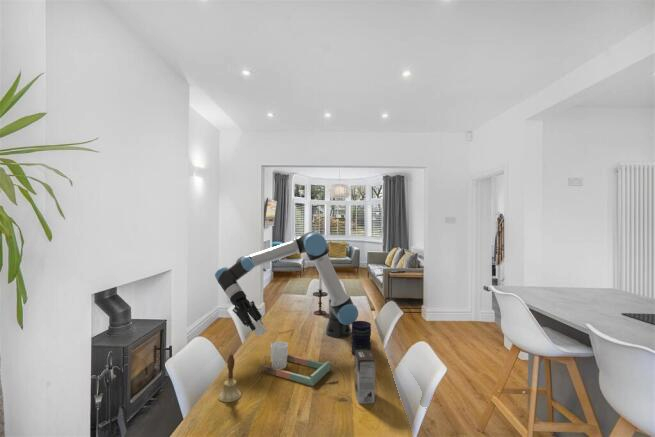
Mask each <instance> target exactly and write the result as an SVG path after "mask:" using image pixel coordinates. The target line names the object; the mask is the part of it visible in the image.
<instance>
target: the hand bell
mask: <svg viewBox="0 0 655 437" xmlns="http://www.w3.org/2000/svg"><path fill="white" fill-rule="evenodd" d="M226 366H227V370H228V375H227V376H228V378H227V380H226V381H224V384H223V389H222V391H221V393H219V395H218V400H219V401H220V402H222V403H232V402H233V403H234V402H236V401H238V400H239V399H240V398H241V396H242V392H241V391H240V390H239V388H238V386H237V380H236V379H233V378H234V376H233V375H234V373H233V372H234V368H235V357H234V354H233V353H229V355H228V359H227V364H226Z"/></svg>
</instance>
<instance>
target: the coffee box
mask: <svg viewBox="0 0 655 437" xmlns="http://www.w3.org/2000/svg"><path fill="white" fill-rule="evenodd" d="M354 393H355V396H356V400H357V403H358V404H360V405H361V404H362V405H363V404H375V401H376V400H375V397H376V396H375V393H376V359H375V357H374V355H373V353H372V351H370V350H355V356H354Z"/></svg>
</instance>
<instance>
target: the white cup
mask: <svg viewBox="0 0 655 437" xmlns="http://www.w3.org/2000/svg"><path fill="white" fill-rule="evenodd" d="M288 349H289V343H288V342H286V341H282V340H279V341H278V340H277V341H274V342H272V343H271V344H270V360H271V361H270V362H271V367H274V368H277V369H281V370H284V369H286V367H287V363H288V361H287V354H288Z"/></svg>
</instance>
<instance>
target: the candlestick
mask: <svg viewBox="0 0 655 437" xmlns="http://www.w3.org/2000/svg"><path fill="white" fill-rule="evenodd" d="M322 283H323V281H322V279H321V277H320V275H319V274H318V291H315V292H313V293H312V296H314V297H316V298H317V297H318V300H319V301H318V310H315V311H313V314H314V315H315V316H325V315H327V311H326V310H322V307H323V306H322V304H323V302H322V298H323V297H327V296H329V294H328V292H325V291H323V288H322V286H323V285H322Z"/></svg>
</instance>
